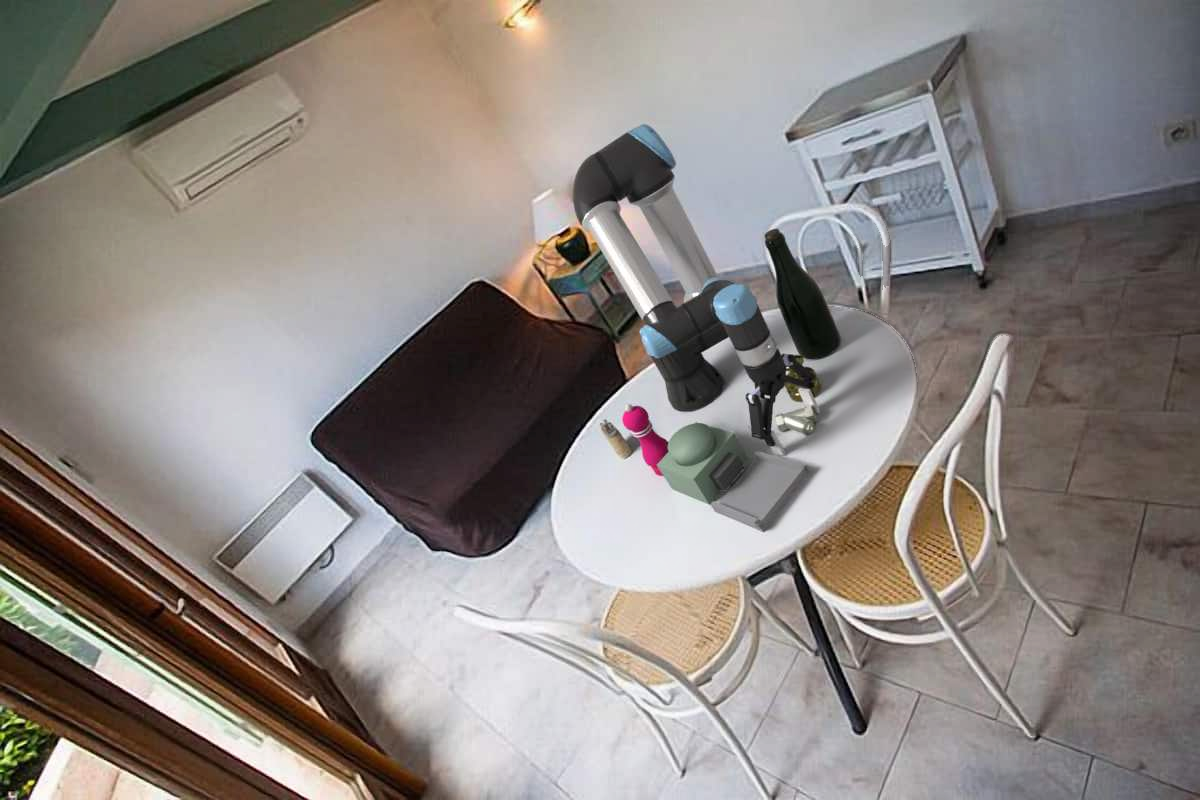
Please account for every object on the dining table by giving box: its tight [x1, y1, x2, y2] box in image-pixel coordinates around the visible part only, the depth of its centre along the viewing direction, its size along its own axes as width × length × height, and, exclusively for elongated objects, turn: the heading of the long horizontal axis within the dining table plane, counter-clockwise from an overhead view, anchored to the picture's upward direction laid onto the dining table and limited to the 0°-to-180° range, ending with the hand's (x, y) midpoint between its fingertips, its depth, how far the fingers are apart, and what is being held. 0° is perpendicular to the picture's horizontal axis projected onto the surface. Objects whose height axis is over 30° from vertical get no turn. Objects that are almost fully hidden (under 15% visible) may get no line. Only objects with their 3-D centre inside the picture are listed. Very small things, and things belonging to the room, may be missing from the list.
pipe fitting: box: [774, 405, 818, 436], centre depth 139 cm, size 8×4×7 cm
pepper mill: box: [621, 403, 669, 477], centre depth 148 cm, size 7×7×20 cm
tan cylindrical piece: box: [599, 418, 633, 459], centre depth 164 cm, size 7×4×10 cm, turn 21°
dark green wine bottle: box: [764, 228, 842, 360], centre depth 149 cm, size 10×10×33 cm
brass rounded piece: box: [784, 354, 822, 403], centre depth 145 cm, size 7×7×10 cm
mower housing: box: [657, 421, 750, 506], centre depth 139 cm, size 14×14×11 cm
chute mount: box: [710, 450, 811, 533], centre depth 130 cm, size 13×16×2 cm
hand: (797, 432), depth 138 cm, fingers open, 12 cm apart
